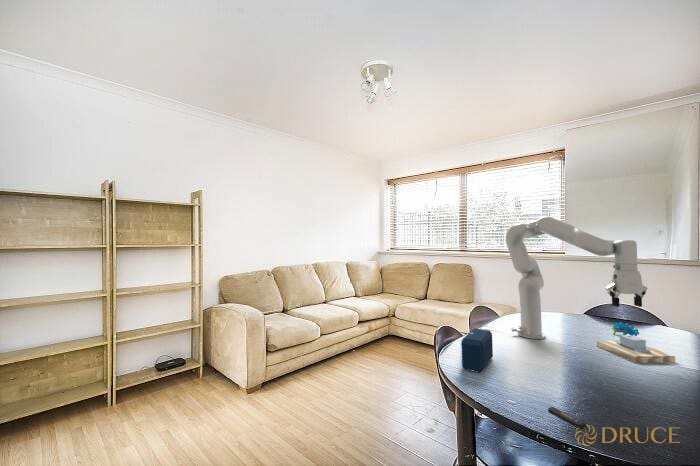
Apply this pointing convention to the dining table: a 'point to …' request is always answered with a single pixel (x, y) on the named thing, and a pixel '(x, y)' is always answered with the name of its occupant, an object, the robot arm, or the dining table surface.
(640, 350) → the block
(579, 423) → the dark grey bar
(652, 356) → the frame
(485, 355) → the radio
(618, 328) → the blue toy dinosaur
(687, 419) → the dining table surface
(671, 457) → the dining table surface
